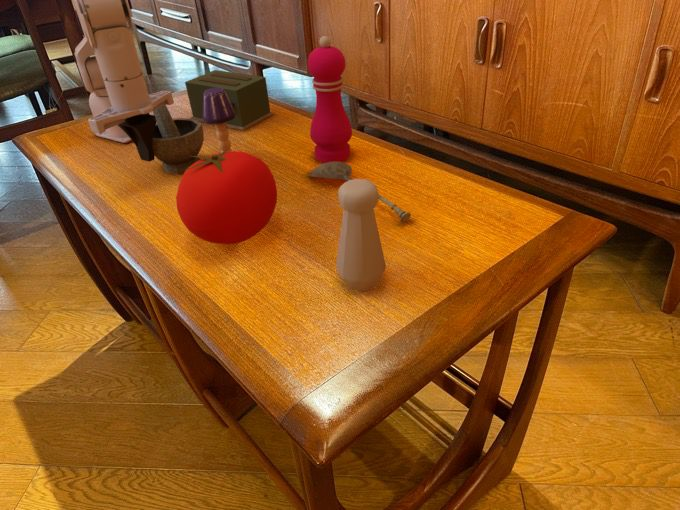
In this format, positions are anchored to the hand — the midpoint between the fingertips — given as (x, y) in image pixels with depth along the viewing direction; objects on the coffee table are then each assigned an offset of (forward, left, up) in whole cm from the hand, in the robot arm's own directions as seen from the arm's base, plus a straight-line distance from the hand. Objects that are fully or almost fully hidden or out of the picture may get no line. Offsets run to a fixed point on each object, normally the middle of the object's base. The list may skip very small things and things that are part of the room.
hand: (148, 159), depth 84 cm
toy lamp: (+17, +2, -4) cm, 17 cm away
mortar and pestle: (0, +6, -4) cm, 7 cm away
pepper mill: (+23, +21, -4) cm, 31 cm away
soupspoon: (+34, +11, -4) cm, 36 cm away
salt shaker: (+45, -7, -4) cm, 46 cm away
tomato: (+24, -6, -4) cm, 25 cm away
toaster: (-7, +28, -4) cm, 29 cm away
